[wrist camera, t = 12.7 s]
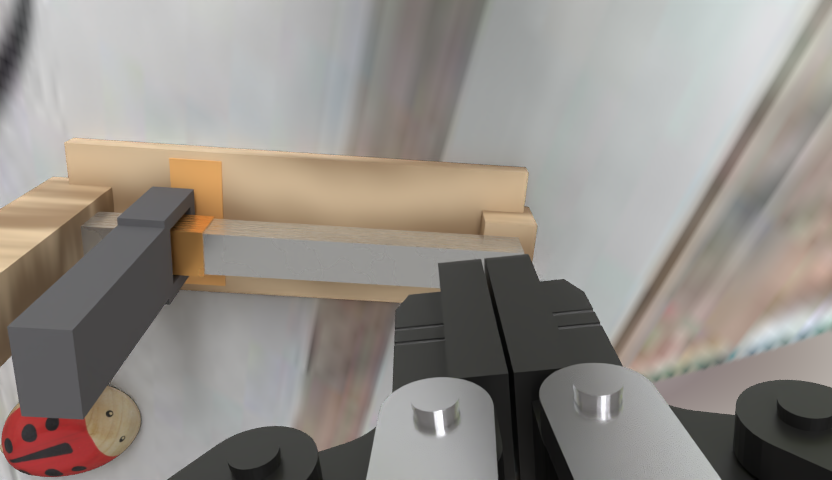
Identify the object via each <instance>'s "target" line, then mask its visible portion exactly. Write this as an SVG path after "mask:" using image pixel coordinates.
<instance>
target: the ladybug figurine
mask: <svg viewBox="0 0 832 480" xmlns="http://www.w3.org/2000/svg"><path fill="white" fill-rule="evenodd" d="M140 423H141V417H140V412H139V410H138V407H137V406H136V404H135V403H134V401H133V400H132V399H131V398H130V397H129V396H128V395H126V394H125V393H124V392H122V391H120V390H118V389H115V388H113V387H110V386H107V387H106V388H105V390H104V391H103V392H102V394H101V395H100V397H99V398H98V399H97V401H96V402H95V404H94V405H93V407H92V408H91V409H90V411H89V412H88V414H87V415H86V416H85V418H84V419H83V420H81V419H62V418H43V417H24V416H21V410H20V404H19V403H18V404H17V405H16V406H15V407H14V409H13V410H12V411H11V413H10V414H9V416H8V418H7V420H6V422H5V425H4V428H3V431H2V444H1V446H0V449H1V451H2V452H3V453H4V455H5V458H6V459H7V461H8V462H9V463H10V464H11V465H12V466H13V467H14V468H15V469H17V470H19V471H20V472H23V473H26V474H28V475H35V476H42V477H59V476H68V475H74V474H79V473H83V472H86V471H90V470H92V469H95V468H98V467H100V466H102V465H104V464H106V463H108V462H110V461H111V460H113V459H114V458H116V457H117V456H119V455H120V454H121V453H122V452H123V451H125V450H126V449H127V448H128V447H129V445H130V444H131V443H132V442H133V440H134V439H135V437H136V435H137V434H138V431H139V428H140Z"/></svg>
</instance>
